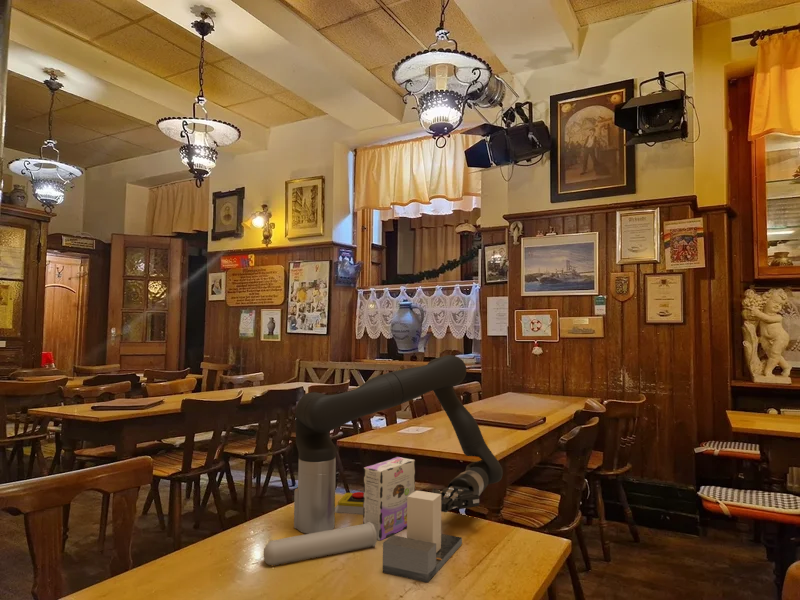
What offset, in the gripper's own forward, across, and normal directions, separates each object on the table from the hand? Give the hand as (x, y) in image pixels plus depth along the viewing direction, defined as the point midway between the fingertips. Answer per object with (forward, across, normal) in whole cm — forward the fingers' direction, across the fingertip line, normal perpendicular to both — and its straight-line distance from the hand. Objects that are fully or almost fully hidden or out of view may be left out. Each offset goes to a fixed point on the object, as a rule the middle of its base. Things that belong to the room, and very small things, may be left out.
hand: (443, 507), depth 129 cm
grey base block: (+11, 0, +7) cm, 13 cm away
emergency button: (-10, -28, +8) cm, 31 cm away
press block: (+11, 0, +6) cm, 13 cm away
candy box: (0, -14, +8) cm, 16 cm away
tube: (+20, -21, +8) cm, 30 cm away
